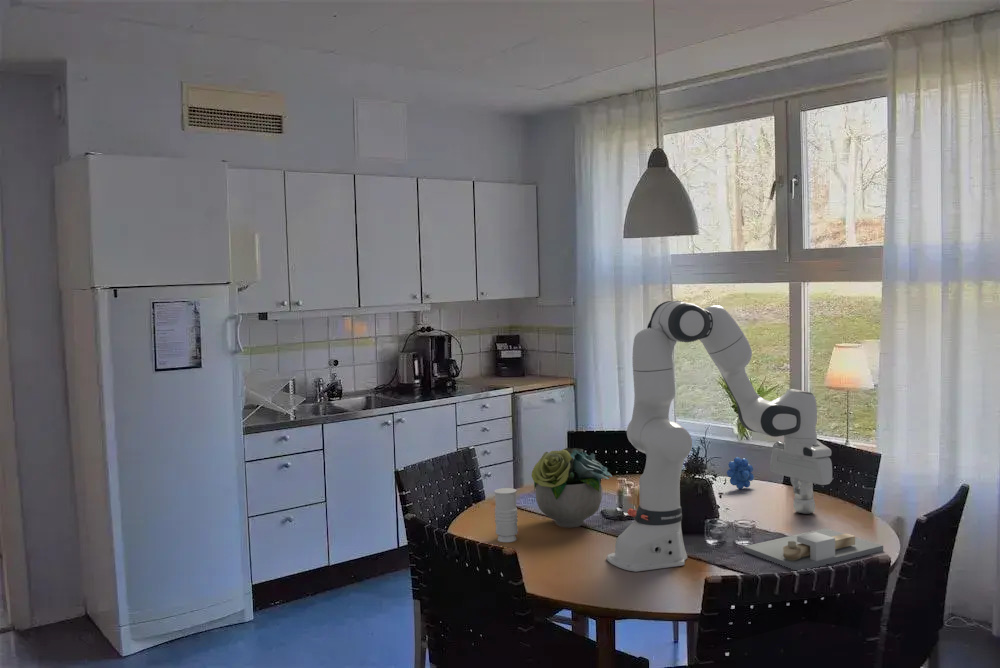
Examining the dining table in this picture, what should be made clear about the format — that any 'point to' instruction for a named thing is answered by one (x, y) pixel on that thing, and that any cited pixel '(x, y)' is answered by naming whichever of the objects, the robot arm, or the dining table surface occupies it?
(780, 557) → the base
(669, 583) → the dining table surface
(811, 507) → the plastic bottle
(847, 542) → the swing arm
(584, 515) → the flower arrangement
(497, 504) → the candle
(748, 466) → the grapes
